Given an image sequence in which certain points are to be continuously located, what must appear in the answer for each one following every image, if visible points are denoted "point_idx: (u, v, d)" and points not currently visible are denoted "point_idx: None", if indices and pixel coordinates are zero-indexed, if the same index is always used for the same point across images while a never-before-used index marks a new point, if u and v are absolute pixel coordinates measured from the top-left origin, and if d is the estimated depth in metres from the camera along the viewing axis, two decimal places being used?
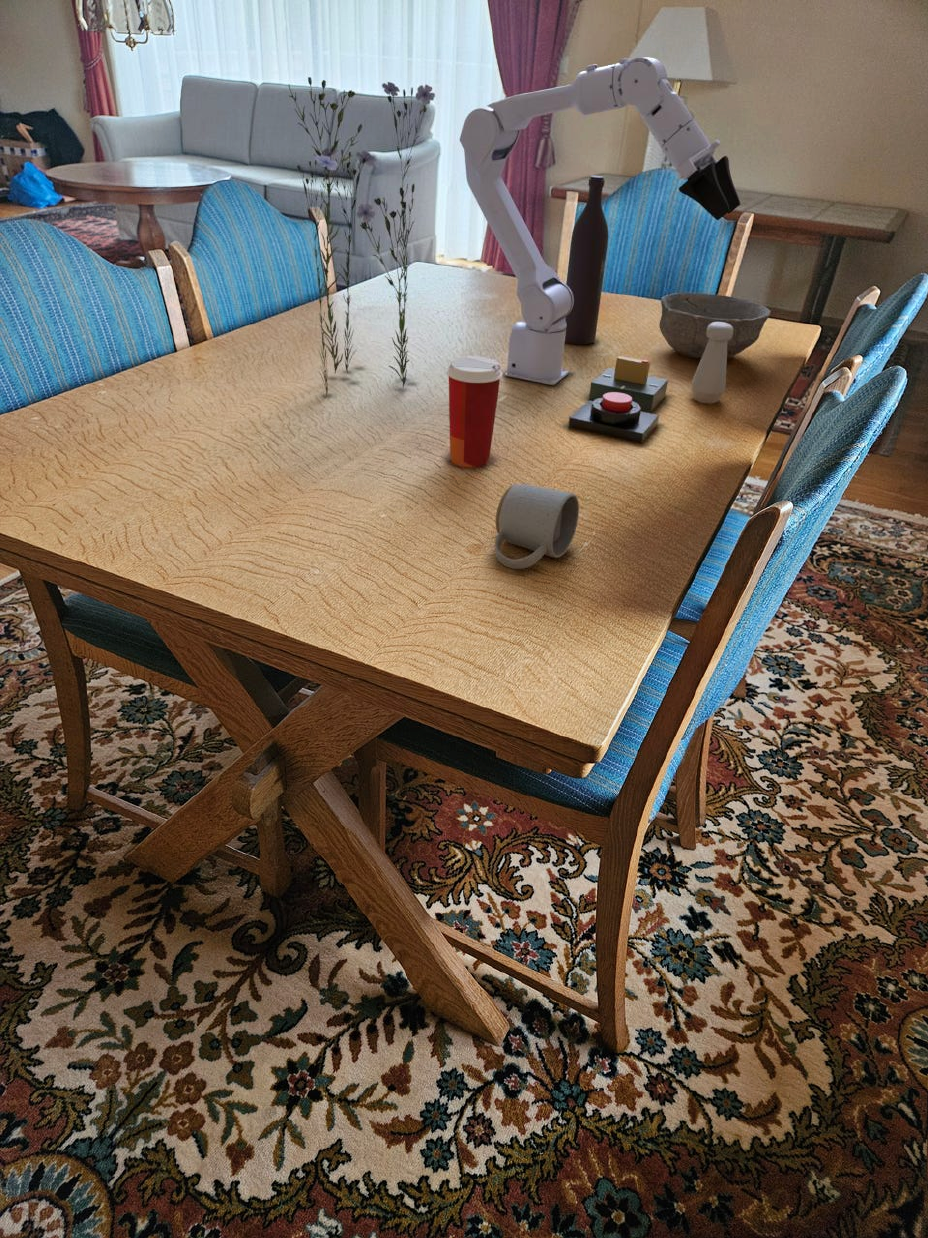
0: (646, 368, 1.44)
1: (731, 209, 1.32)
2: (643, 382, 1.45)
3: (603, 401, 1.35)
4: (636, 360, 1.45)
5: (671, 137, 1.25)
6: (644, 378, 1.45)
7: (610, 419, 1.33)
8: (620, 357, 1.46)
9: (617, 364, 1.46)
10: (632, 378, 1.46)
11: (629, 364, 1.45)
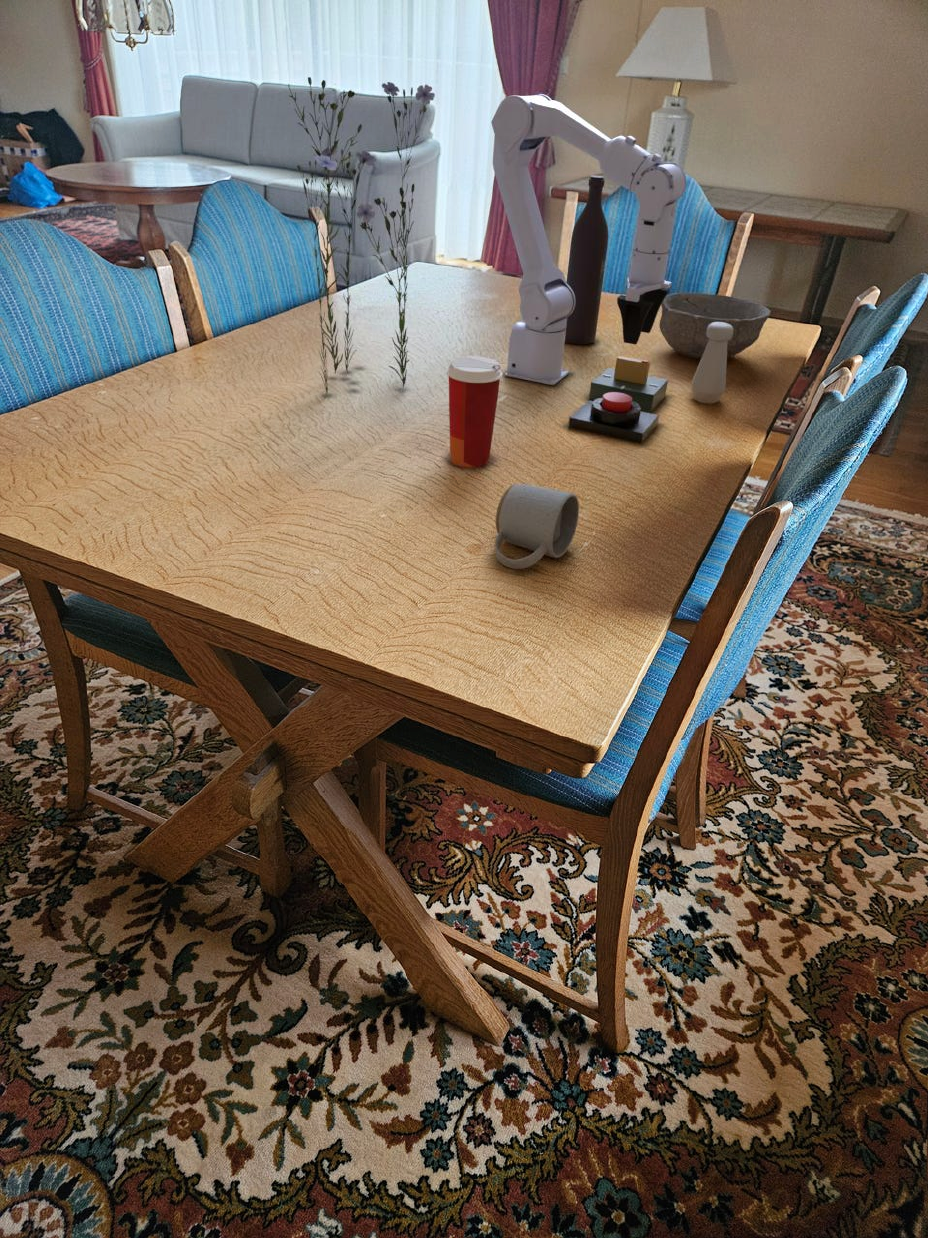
0: (646, 368, 1.44)
1: None
2: (643, 382, 1.45)
3: (603, 401, 1.35)
4: (636, 360, 1.45)
5: (643, 253, 1.33)
6: (644, 378, 1.45)
7: (610, 419, 1.33)
8: (620, 357, 1.46)
9: (617, 364, 1.46)
10: (632, 378, 1.46)
11: (629, 364, 1.45)
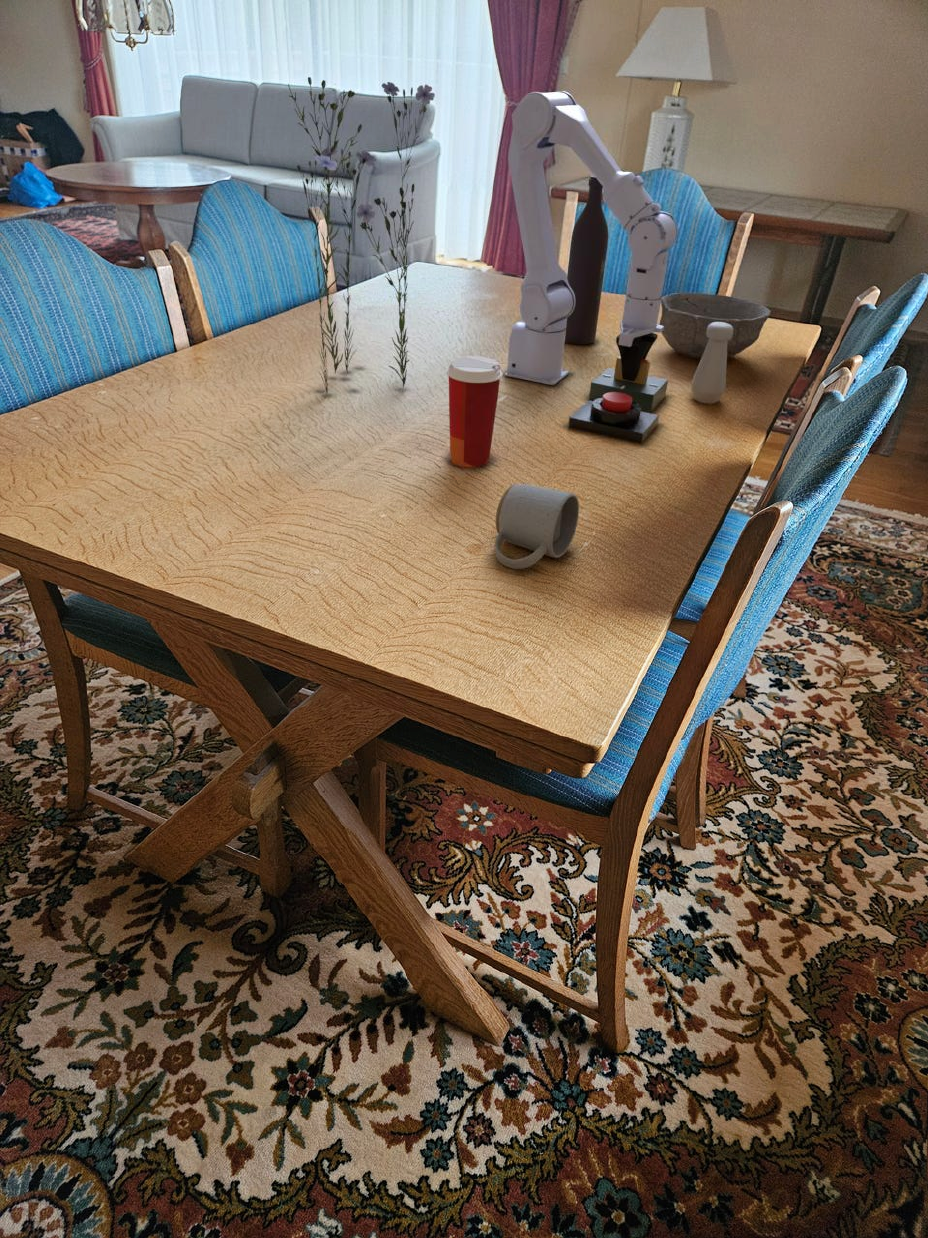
0: (646, 368, 1.44)
1: None
2: (643, 382, 1.45)
3: (603, 401, 1.35)
4: None
5: (636, 299, 1.37)
6: (644, 378, 1.45)
7: (610, 419, 1.33)
8: (620, 357, 1.46)
9: (617, 364, 1.46)
10: None
11: None
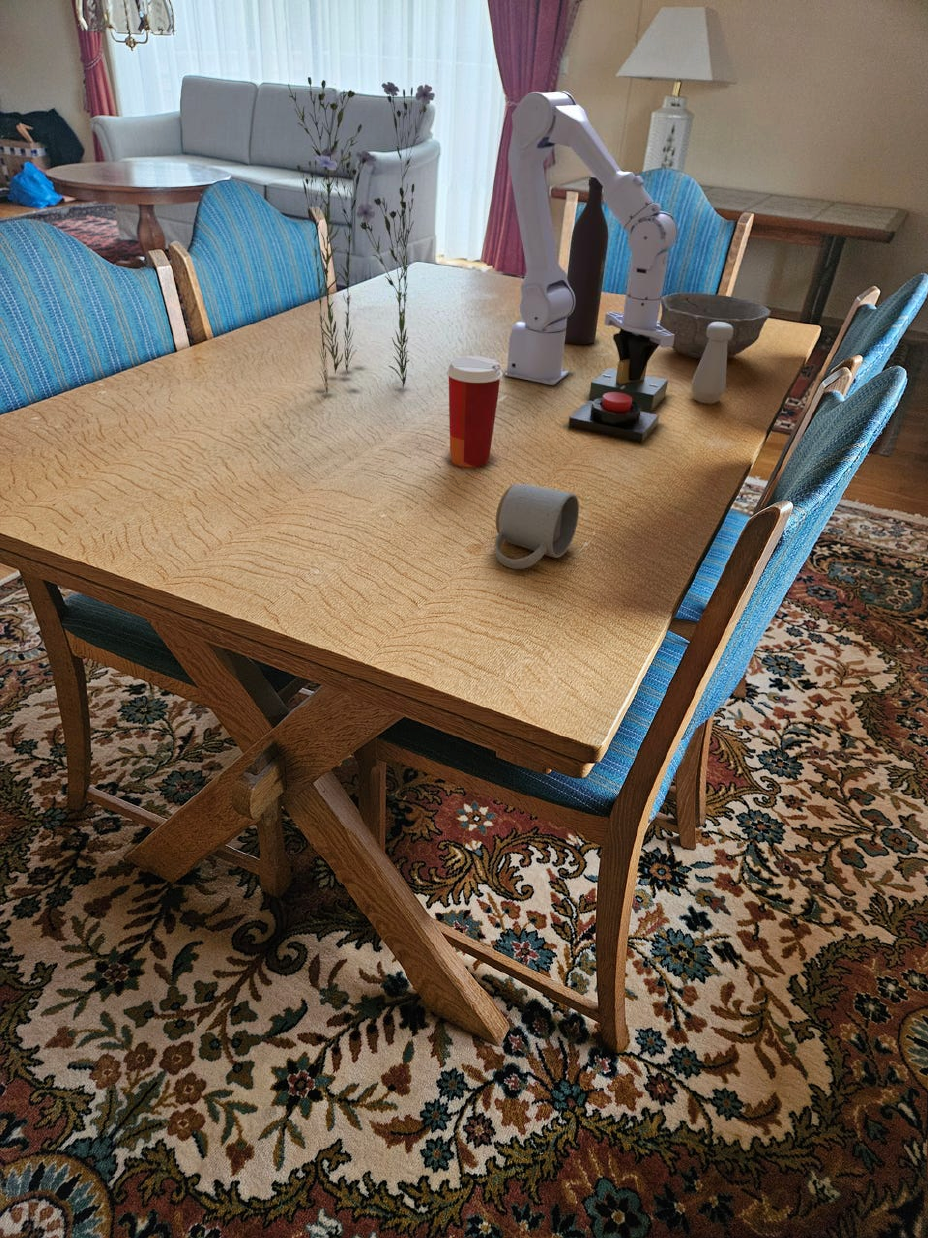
0: None
1: None
2: (644, 377, 1.48)
3: (603, 401, 1.35)
4: None
5: (654, 300, 1.37)
6: (644, 373, 1.47)
7: (610, 419, 1.33)
8: (623, 361, 1.44)
9: (624, 369, 1.44)
10: None
11: None
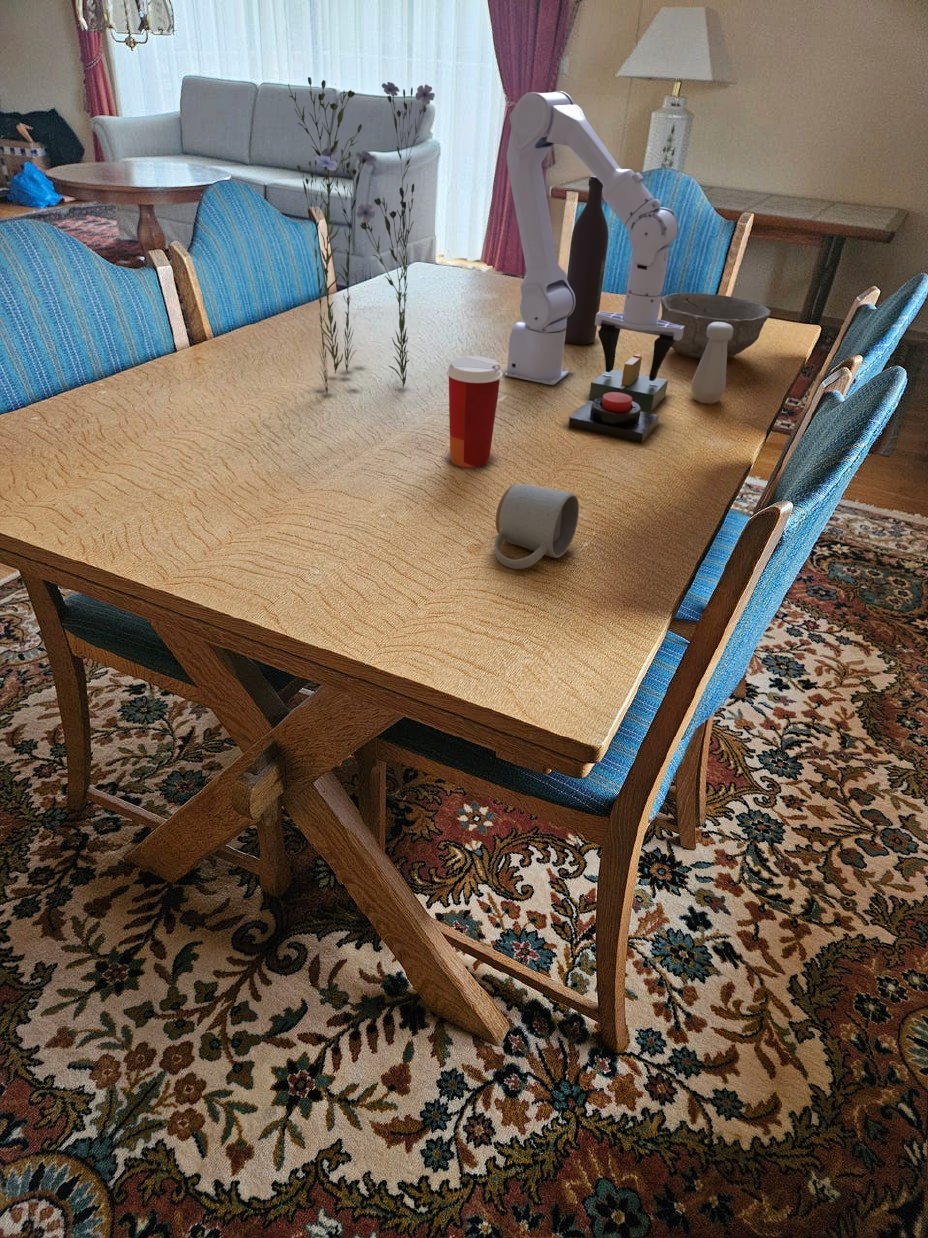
0: None
1: (610, 369, 1.47)
2: (638, 375, 1.48)
3: (603, 401, 1.35)
4: (634, 359, 1.45)
5: (660, 295, 1.38)
6: (639, 371, 1.48)
7: (610, 419, 1.33)
8: (629, 363, 1.43)
9: (632, 370, 1.44)
10: (635, 376, 1.47)
11: (636, 365, 1.45)
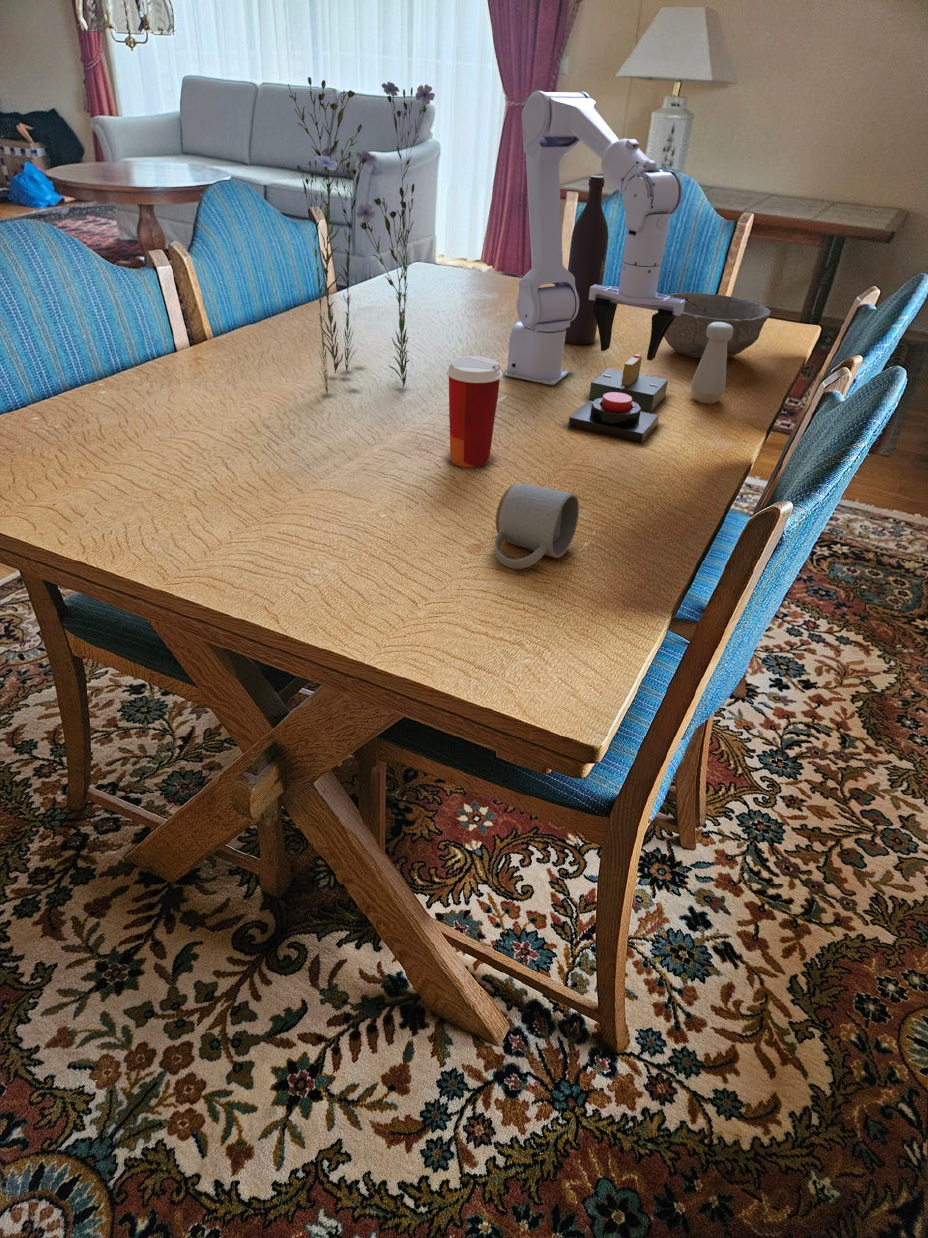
0: None
1: (606, 348, 1.36)
2: (638, 375, 1.48)
3: (603, 401, 1.35)
4: (634, 359, 1.45)
5: (659, 266, 1.26)
6: (639, 371, 1.48)
7: (610, 419, 1.33)
8: (629, 363, 1.43)
9: (632, 370, 1.44)
10: (635, 376, 1.47)
11: (636, 365, 1.45)
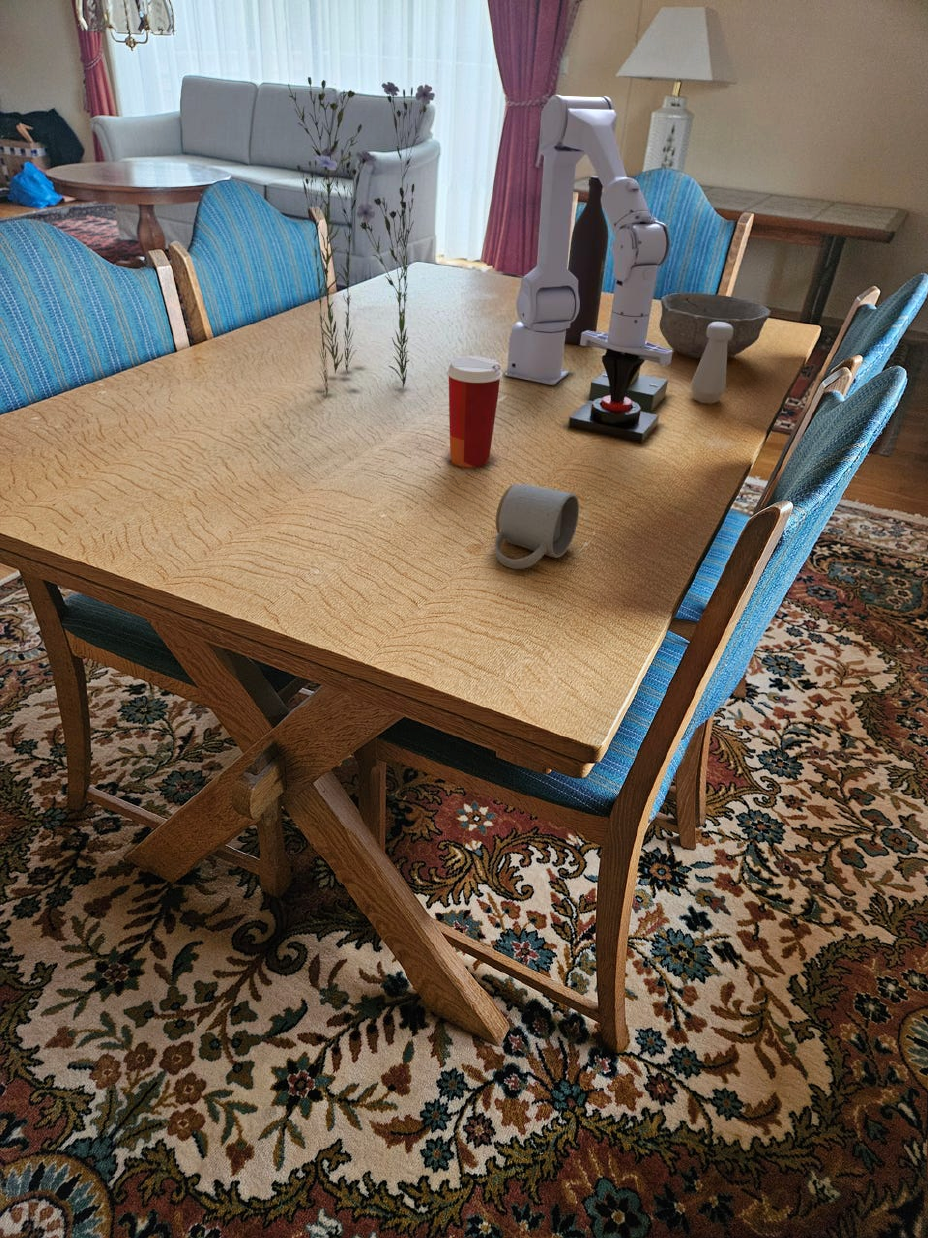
0: None
1: None
2: (638, 375, 1.48)
3: (603, 404, 1.35)
4: None
5: (646, 316, 1.26)
6: (639, 371, 1.48)
7: (610, 419, 1.33)
8: None
9: None
10: (635, 376, 1.47)
11: None
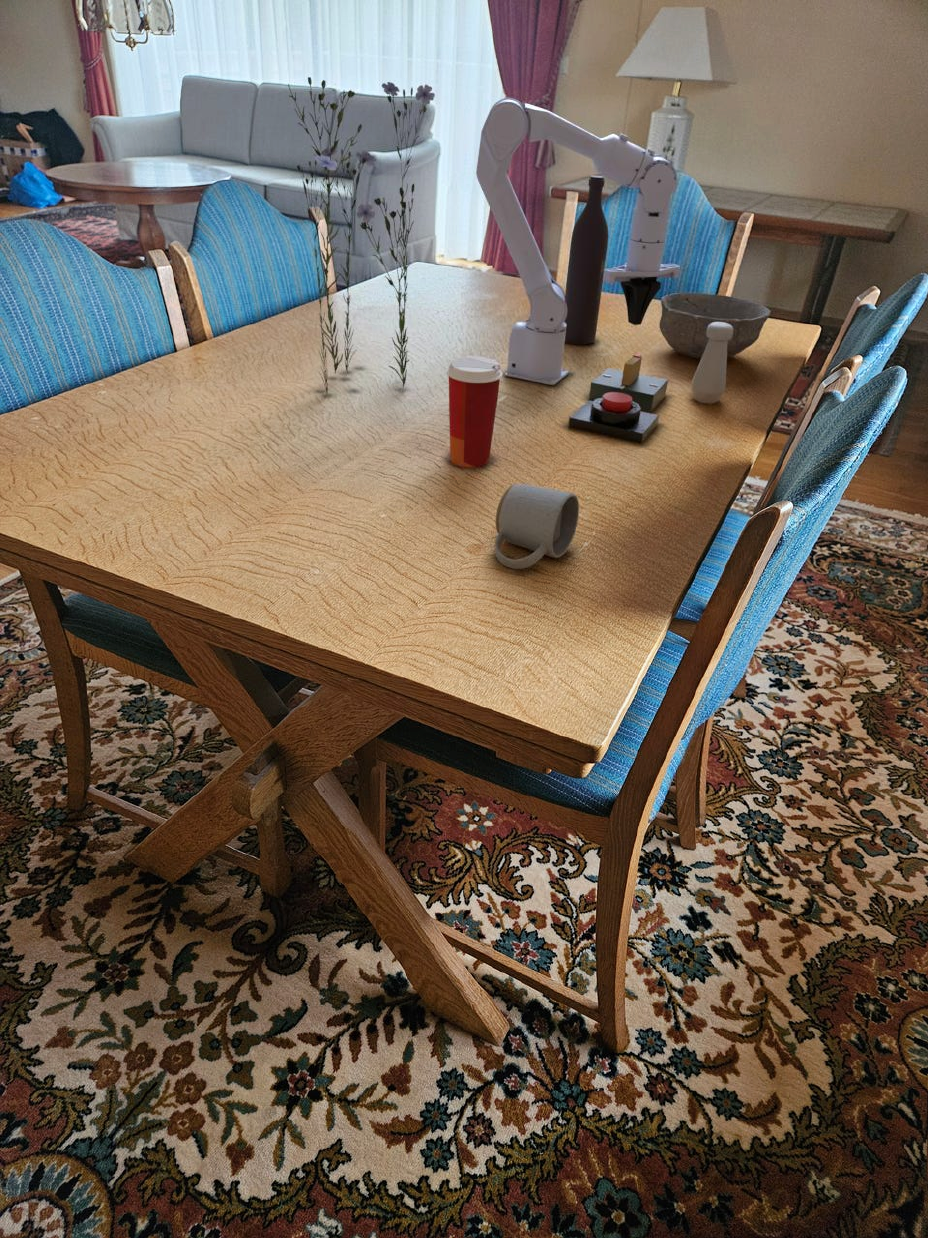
0: None
1: None
2: (638, 375, 1.48)
3: (603, 401, 1.35)
4: (634, 359, 1.45)
5: None
6: (639, 371, 1.48)
7: (610, 419, 1.33)
8: (629, 363, 1.43)
9: (632, 370, 1.44)
10: (635, 376, 1.47)
11: (636, 365, 1.45)
